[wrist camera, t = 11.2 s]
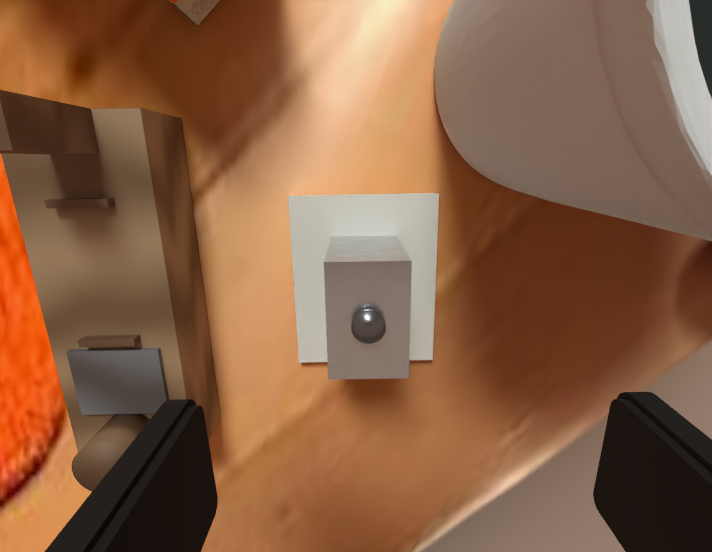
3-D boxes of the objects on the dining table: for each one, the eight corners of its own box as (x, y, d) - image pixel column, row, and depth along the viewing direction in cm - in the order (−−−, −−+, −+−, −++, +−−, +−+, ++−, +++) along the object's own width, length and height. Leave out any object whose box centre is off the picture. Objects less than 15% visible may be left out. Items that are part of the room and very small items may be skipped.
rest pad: (289, 195, 24) (288, 196, 23) (437, 192, 24) (439, 193, 23) (300, 358, 27) (298, 362, 26) (430, 355, 27) (432, 359, 26)
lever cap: (331, 236, 24) (322, 265, 17) (396, 235, 24) (413, 264, 17) (334, 326, 26) (327, 386, 19) (395, 325, 26) (410, 384, 19)
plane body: (59, 120, 23) (-140, 91, 13) (180, 118, 23) (64, 88, 13) (123, 418, 28) (12, 540, 19) (220, 416, 28) (156, 537, 19)
